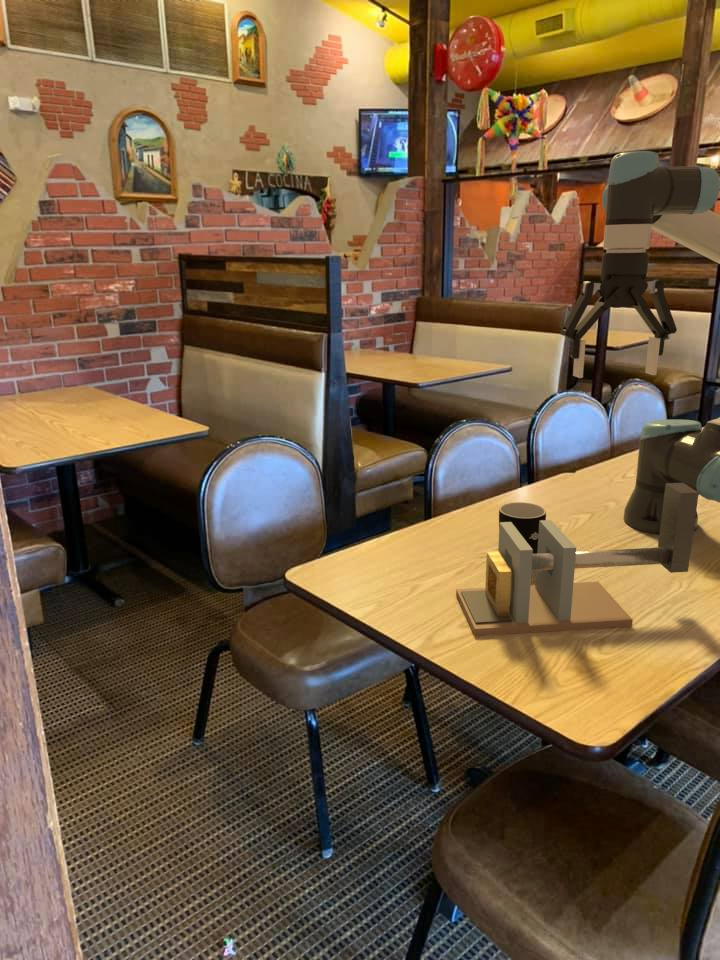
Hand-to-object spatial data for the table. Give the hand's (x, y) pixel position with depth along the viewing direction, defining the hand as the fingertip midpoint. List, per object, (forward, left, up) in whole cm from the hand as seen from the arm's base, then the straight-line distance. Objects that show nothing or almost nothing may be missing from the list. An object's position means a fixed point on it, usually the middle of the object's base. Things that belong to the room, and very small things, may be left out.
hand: (614, 375), depth 129 cm
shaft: (+7, +18, -30) cm, 35 cm away
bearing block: (+17, +18, -37) cm, 44 cm away
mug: (+13, -5, -37) cm, 39 cm away
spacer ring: (+25, +18, -31) cm, 43 cm away
